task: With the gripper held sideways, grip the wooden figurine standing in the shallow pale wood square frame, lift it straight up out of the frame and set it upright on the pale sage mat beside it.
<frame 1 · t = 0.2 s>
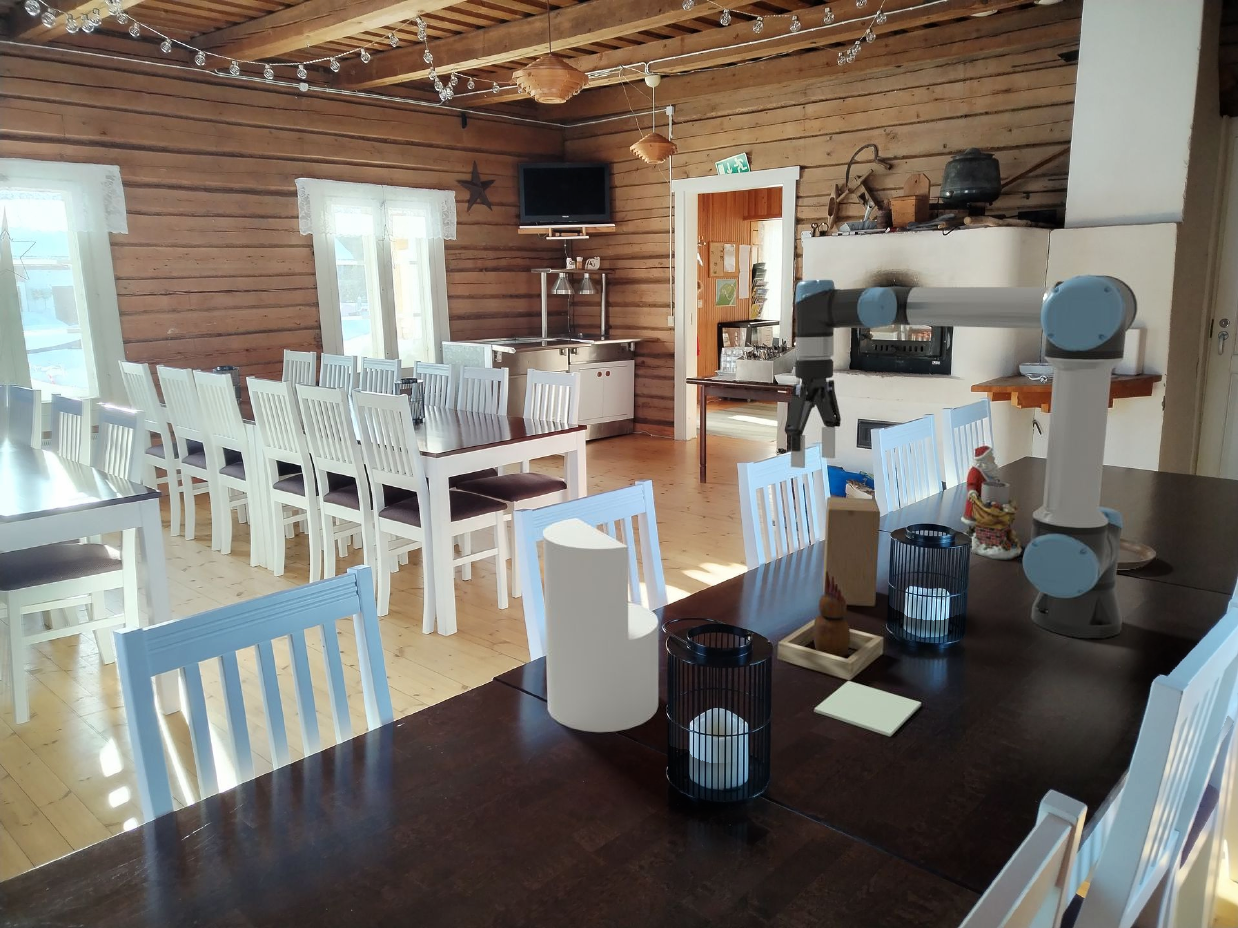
hand: (813, 462, 180), 28 cm above the table, tool pointing down, fingers open, 13 cm apart
wooden figurine: (830, 657, 153), resting in pale wood square frame
pale wood square frame: (830, 656, 153), on the table
plant saucer: (1102, 561, 204), on the table
santa figurine: (989, 550, 212), on the table
wooden block: (848, 597, 181), on the table
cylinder: (602, 705, 137), on the table
sage mat: (867, 708, 135), on the table
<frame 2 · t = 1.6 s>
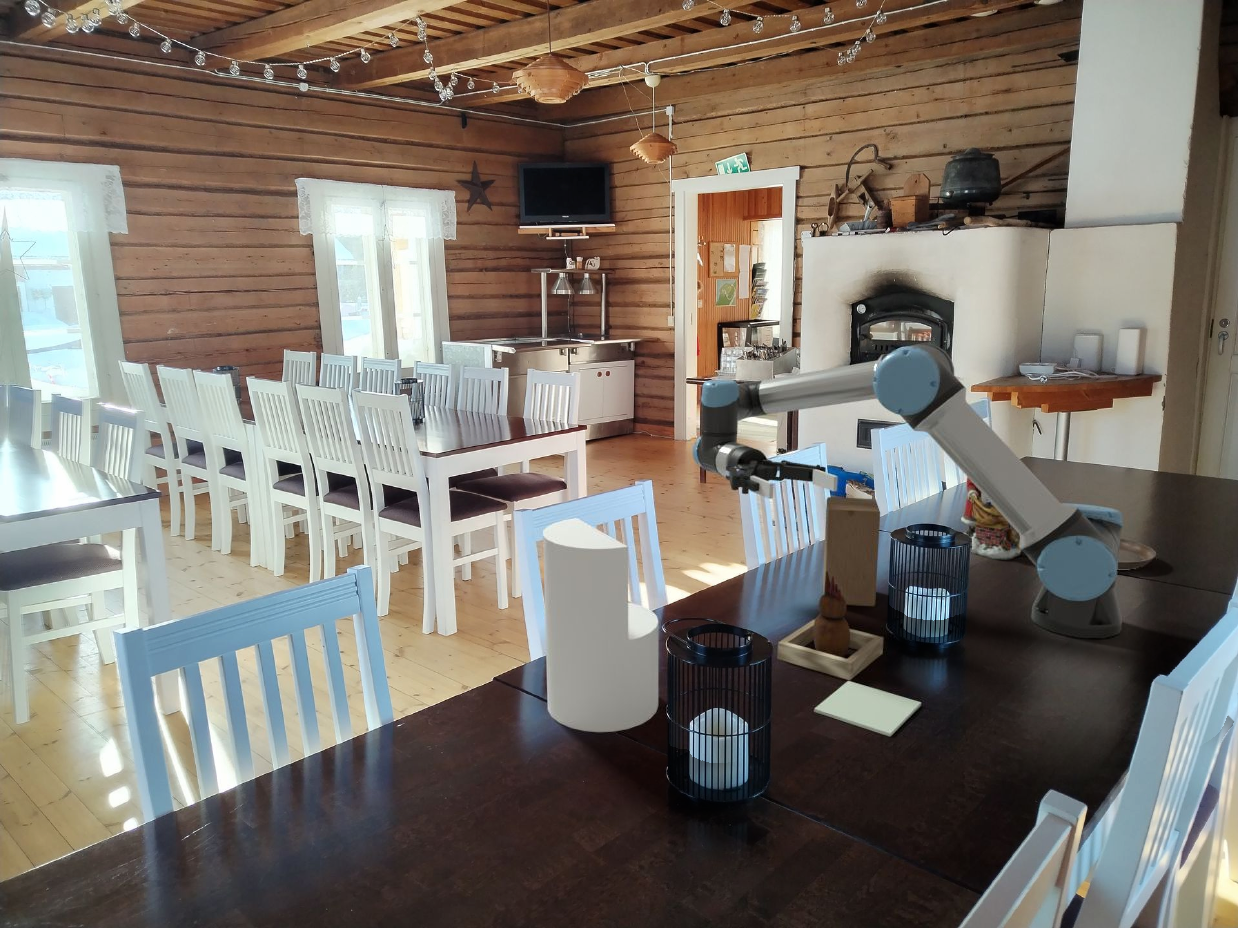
hand: (804, 487, 156), 28 cm above the table, tool horizontal, fingers open, 13 cm apart
nothing on the table moved.
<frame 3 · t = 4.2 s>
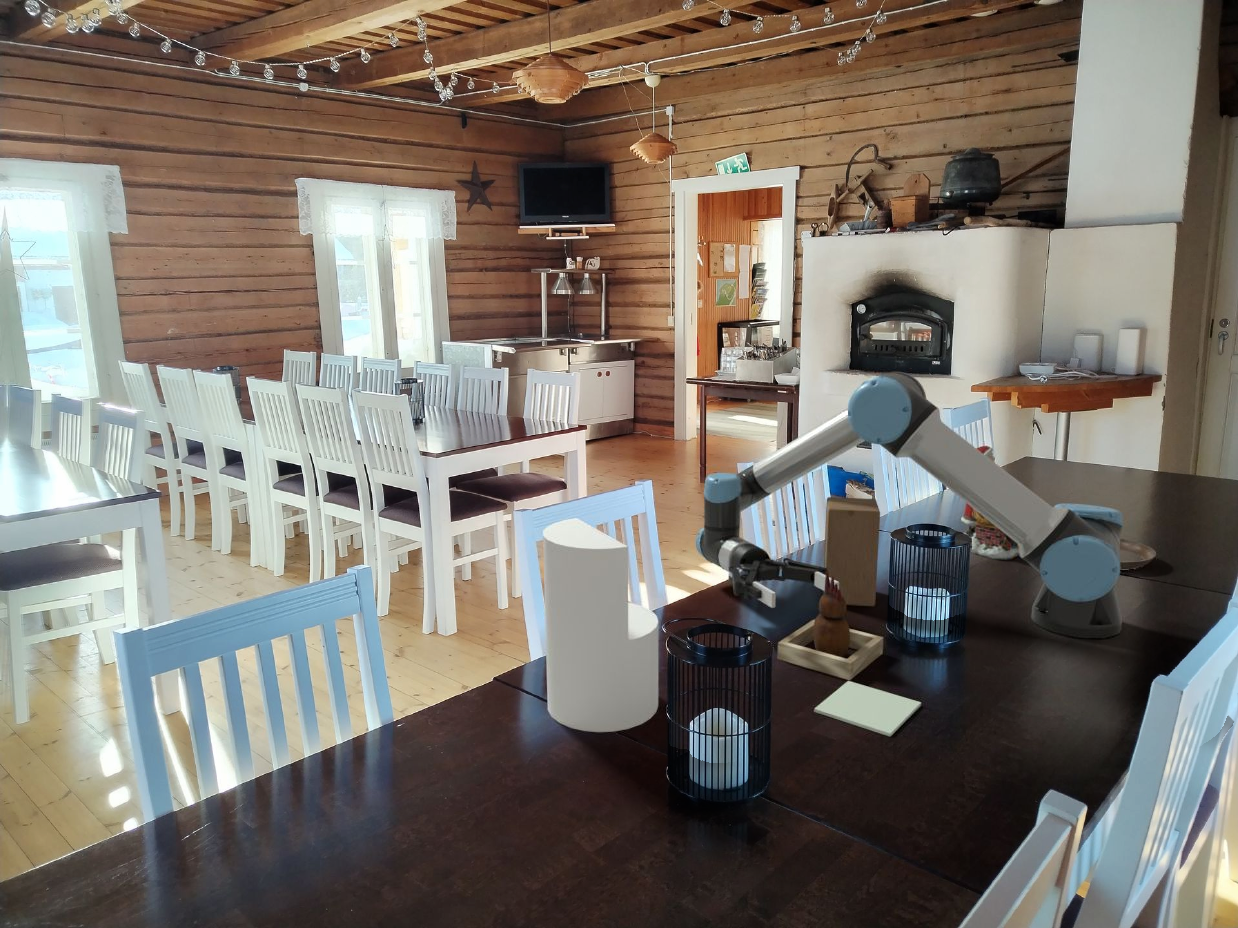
hand: (806, 594, 158), 9 cm above the table, tool horizontal, fingers open, 13 cm apart
nothing on the table moved.
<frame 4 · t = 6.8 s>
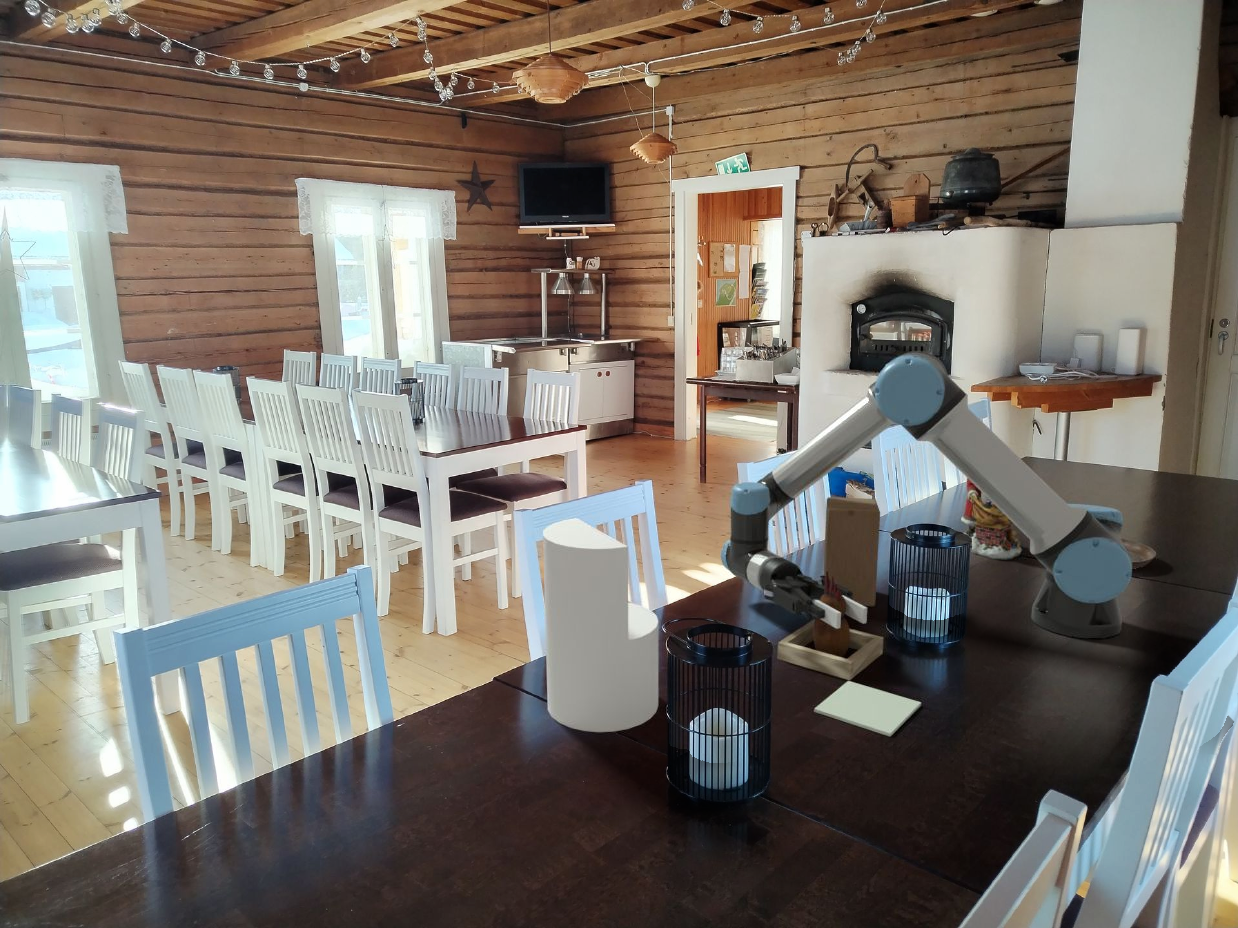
hand: (851, 618, 147), 9 cm above the table, tool horizontal, fingers closed on wooden figurine, 5 cm apart
wooden figurine: (830, 657, 153), resting in pale wood square frame, touching gripper
everything else where it was.
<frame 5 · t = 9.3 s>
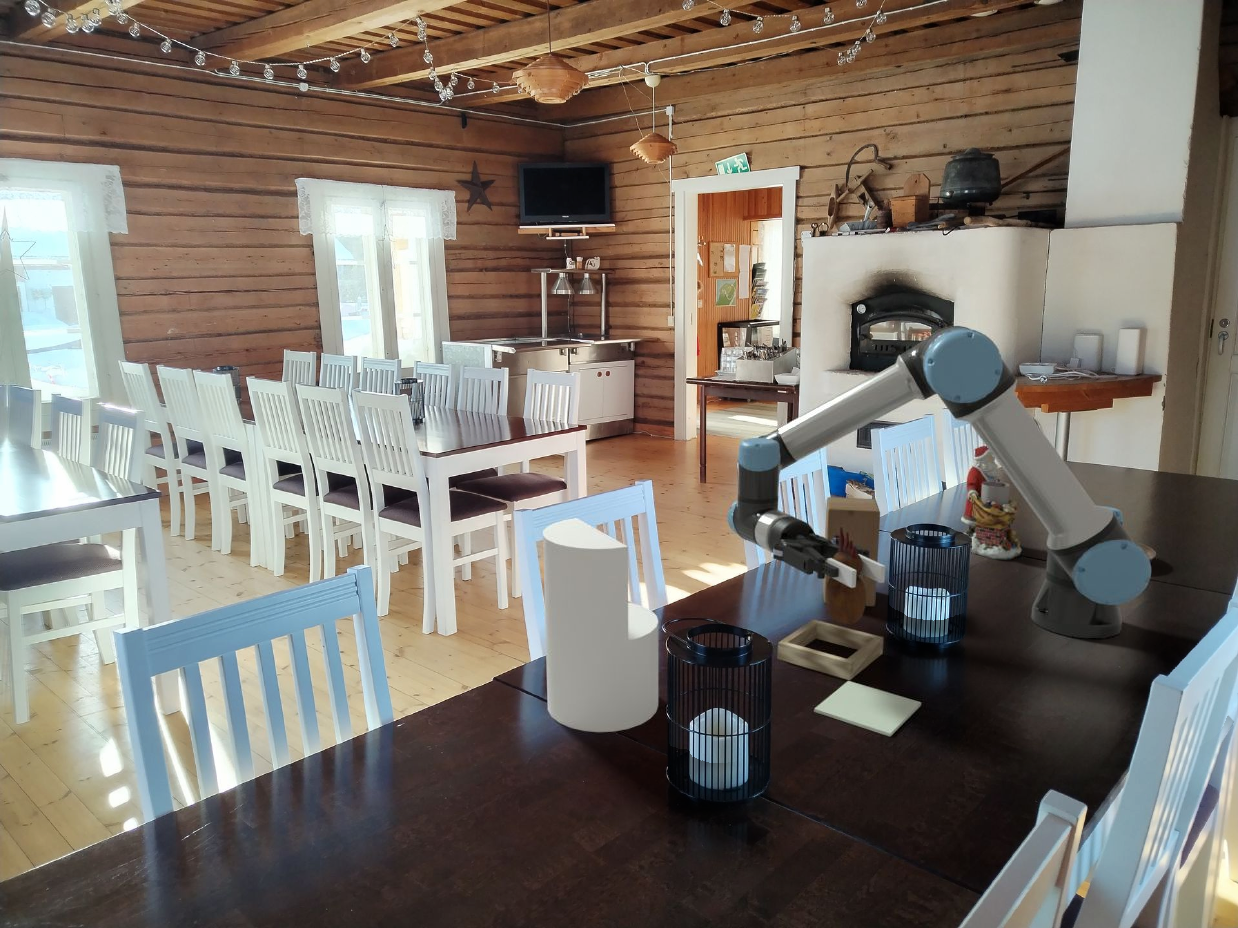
hand: (868, 576, 134), 20 cm above the table, tool horizontal, fingers closed on wooden figurine, 5 cm apart
wooden figurine: (844, 620, 141), point 11 cm above the table, touching gripper
everything else where it was.
when the fingers open (11 cm above the table, at t = 12.0 s): wooden figurine drops 1 cm, resting on sage mat.
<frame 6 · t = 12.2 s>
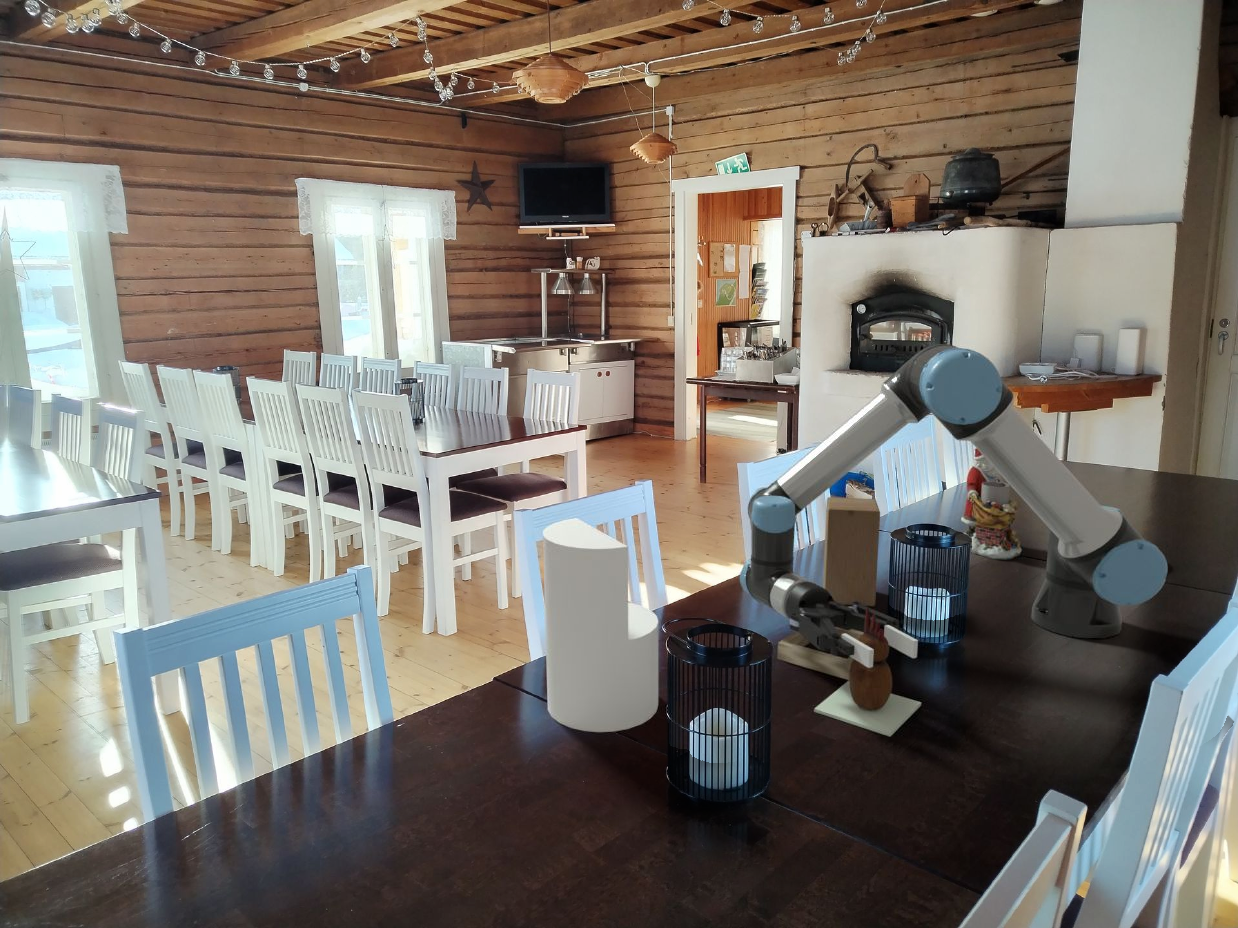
hand: (893, 653, 128), 11 cm above the table, tool horizontal, fingers open, 7 cm apart
wooden figurine: (867, 705, 135), resting on sage mat
everything else where it was.
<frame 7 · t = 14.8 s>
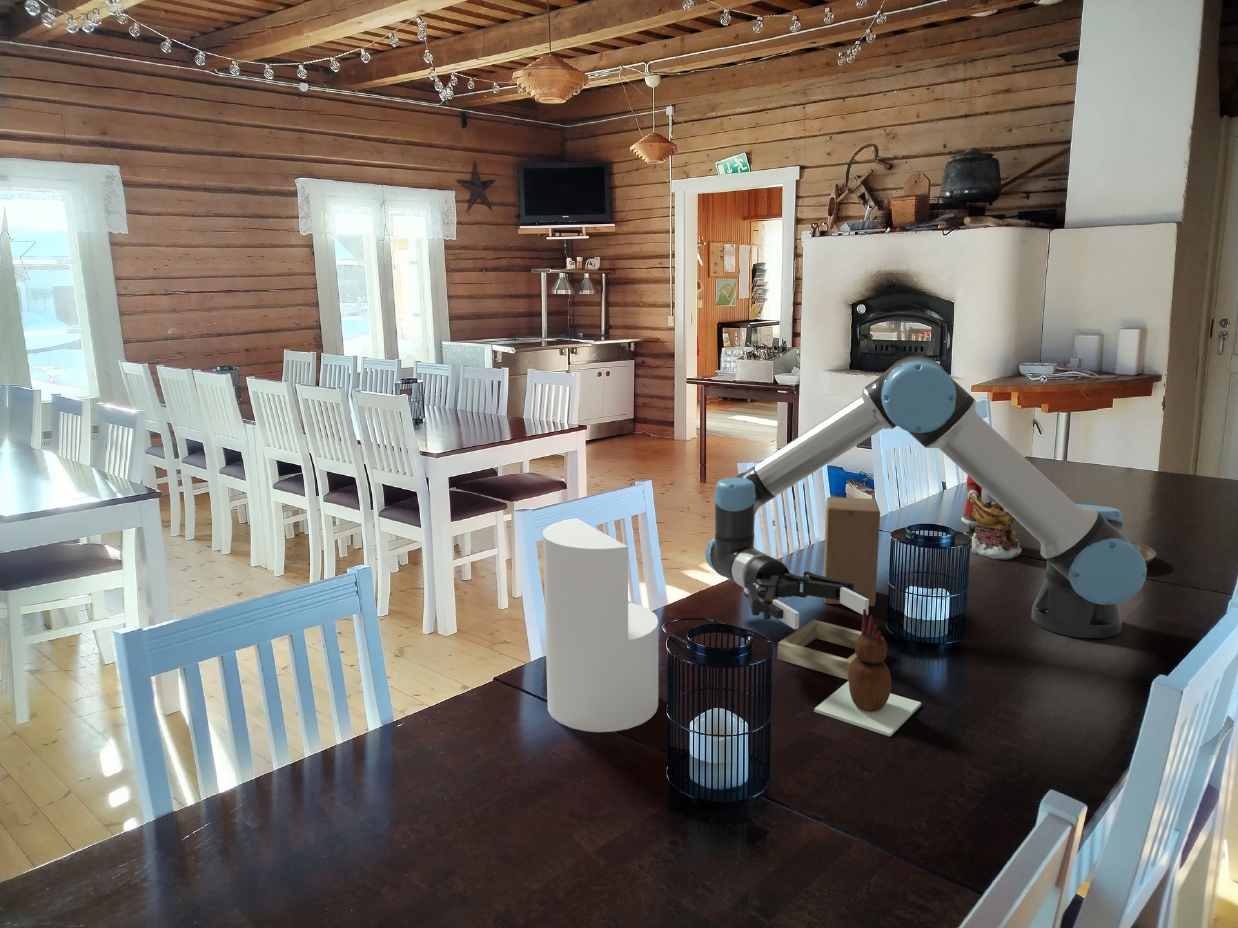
hand: (832, 614, 141), 12 cm above the table, tool horizontal, fingers open, 13 cm apart
nothing on the table moved.
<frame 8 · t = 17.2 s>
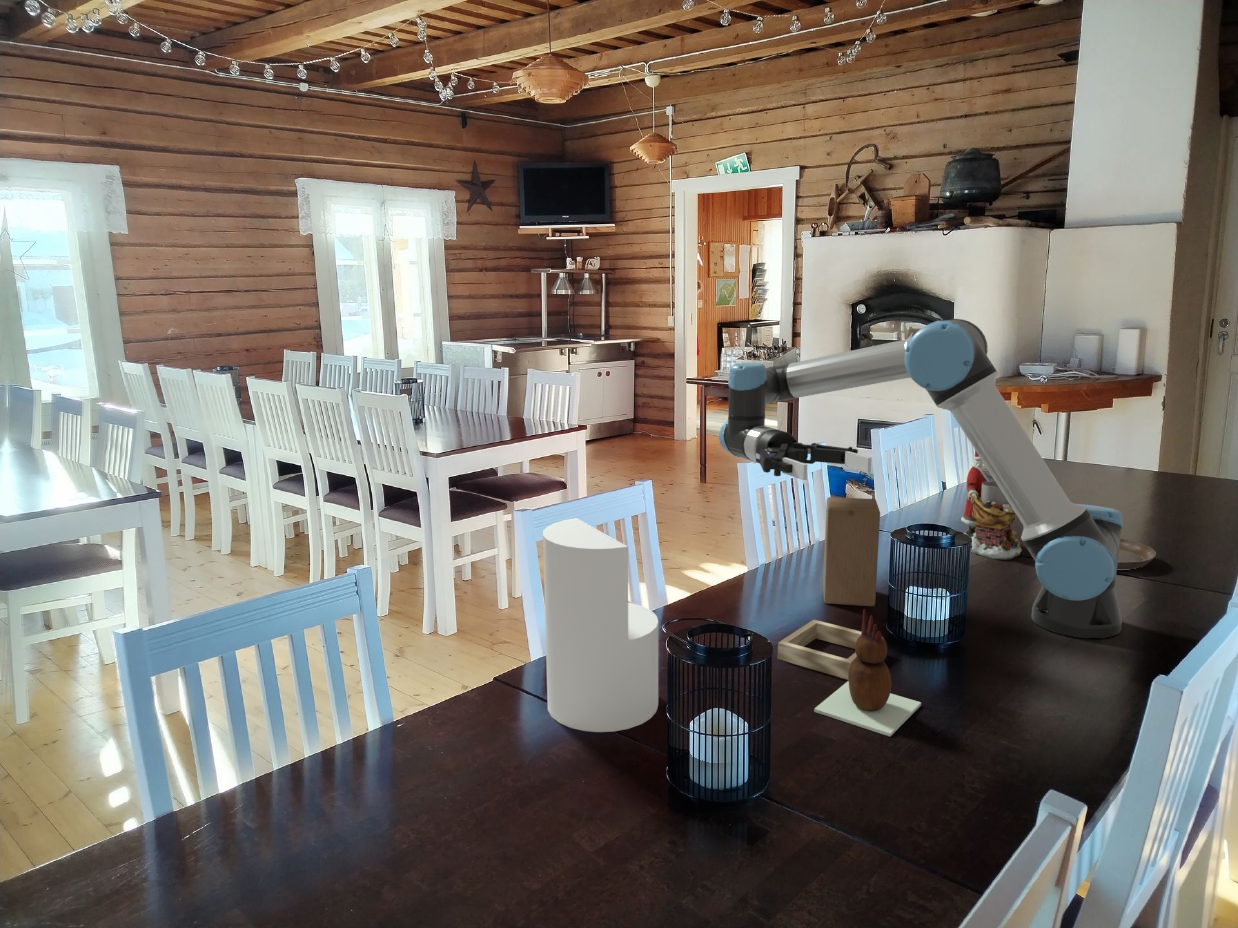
hand: (838, 468, 153), 32 cm above the table, tool horizontal, fingers open, 13 cm apart
nothing on the table moved.
at the end: wooden figurine inside the target area on the sage mat (0.0 cm from its centre), point 0.3 cm above the sage mat's base; wooden figurine tilted 0°; the gripper is holding nothing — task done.
